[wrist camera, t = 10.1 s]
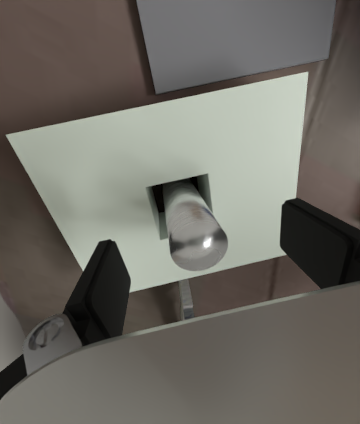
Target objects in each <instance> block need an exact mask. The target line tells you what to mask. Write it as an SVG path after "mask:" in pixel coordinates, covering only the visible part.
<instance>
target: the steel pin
mask: <svg viewBox="0 0 360 424" xmlns="http://www.w3.org/2000/svg"><path fill="white" fill-rule="evenodd" d="M162 192H163V200H164V208H165V216H166V224H167V232H168V240H169V247H170V254H171V258H172V260H173V261H174V263H175V264H176V265H177V266H179V267H180V268H182V269H185V270H188V271H202V270H206V269H209V268H211V267H213V266H214V265H216V264H217V263H218V262H220V261H221V260H222V258H223V257H224V255H225V254H226V252H227V248H228V239H227V236H226V234H225V232H224V231H223V229H222V228H221V226H220V224H219V223H218V221H217V220H216V218H215V217H214V215H213V214H212V212H211V211H210V209H209V208H208V206H207V205H206V203H205V202H204V200H203V199H202V197H201V195H200V194H199V192H198V191H197V189H196V188H195V186H194V185H193V183H192V182H191V180H190V179H189V178H185V179H180V180H176V181H171V182H167V183H163V185H162Z"/></svg>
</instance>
